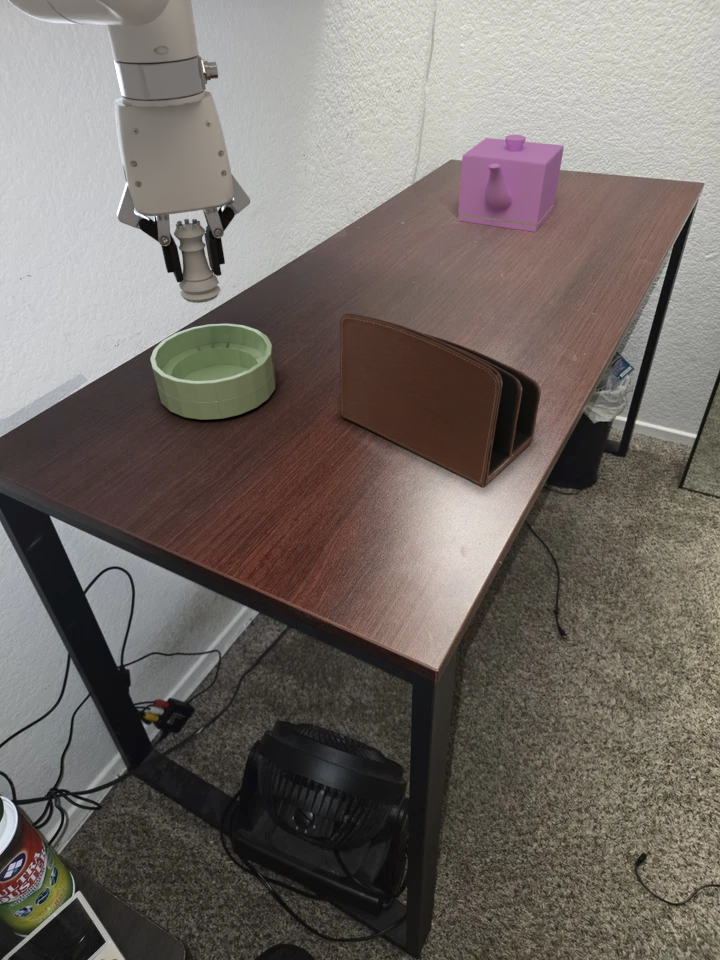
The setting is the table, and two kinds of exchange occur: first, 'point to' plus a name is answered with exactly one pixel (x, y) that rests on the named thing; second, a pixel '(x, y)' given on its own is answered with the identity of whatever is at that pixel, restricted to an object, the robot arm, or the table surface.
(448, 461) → the letter holder
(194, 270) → the rook chess piece
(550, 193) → the teapot
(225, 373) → the bowl
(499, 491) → the table surface
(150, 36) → the robot arm
